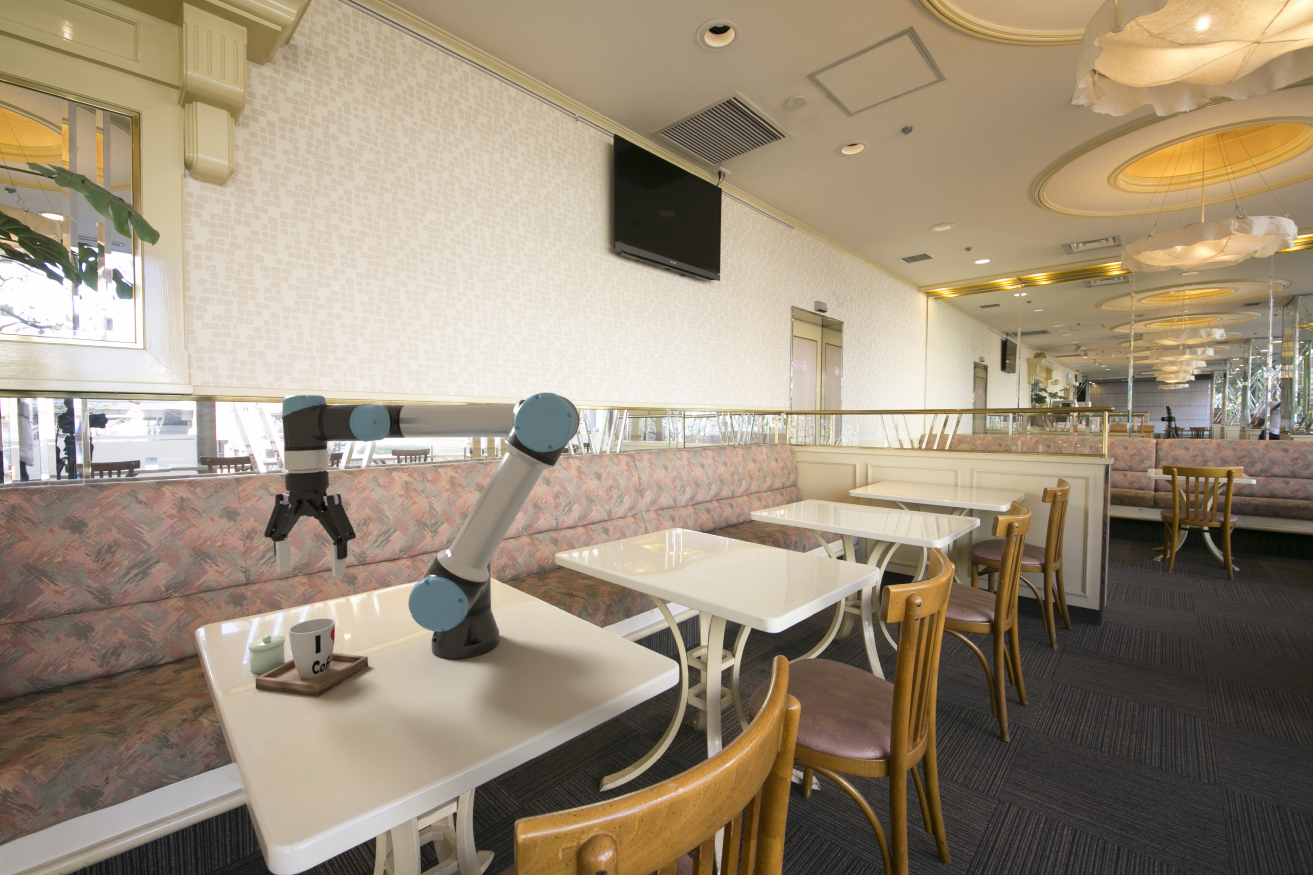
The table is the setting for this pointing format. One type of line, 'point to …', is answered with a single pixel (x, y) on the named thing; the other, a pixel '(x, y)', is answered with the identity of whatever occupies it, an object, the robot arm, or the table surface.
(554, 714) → the table surface
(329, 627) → the cup
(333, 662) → the tray
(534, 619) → the table surface
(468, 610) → the robot arm
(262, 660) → the sugar pot
